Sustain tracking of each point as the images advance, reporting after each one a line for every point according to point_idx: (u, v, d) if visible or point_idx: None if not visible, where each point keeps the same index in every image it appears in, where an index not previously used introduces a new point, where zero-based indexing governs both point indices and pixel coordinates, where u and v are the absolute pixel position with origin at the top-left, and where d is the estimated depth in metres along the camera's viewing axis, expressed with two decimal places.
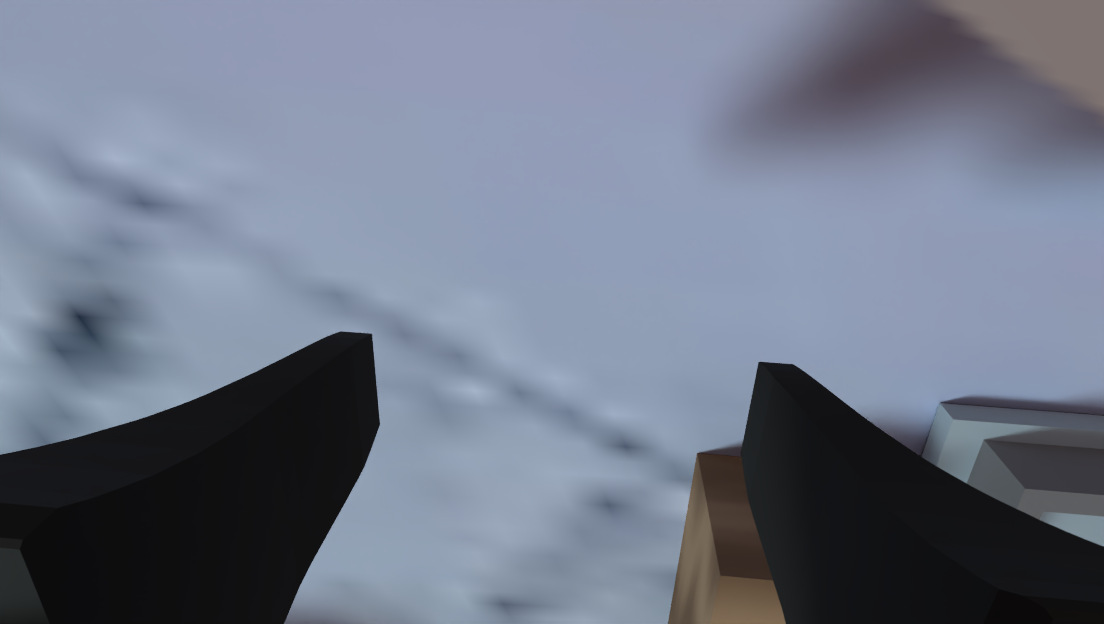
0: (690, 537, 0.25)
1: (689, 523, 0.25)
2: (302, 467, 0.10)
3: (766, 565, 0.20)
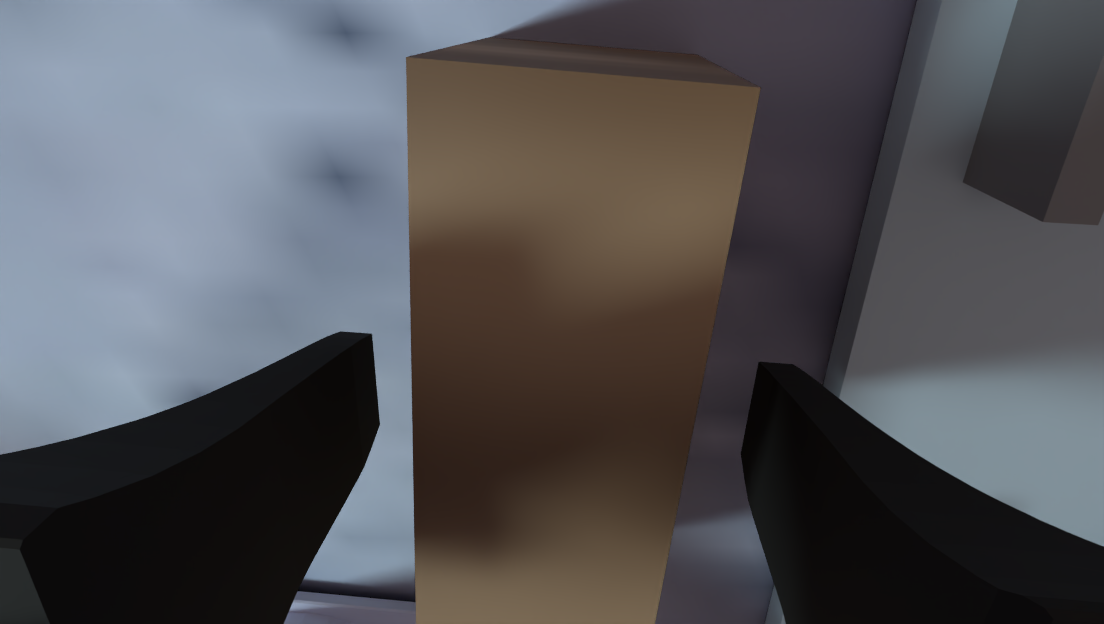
0: None
1: None
2: (302, 467, 0.10)
3: (537, 64, 0.08)
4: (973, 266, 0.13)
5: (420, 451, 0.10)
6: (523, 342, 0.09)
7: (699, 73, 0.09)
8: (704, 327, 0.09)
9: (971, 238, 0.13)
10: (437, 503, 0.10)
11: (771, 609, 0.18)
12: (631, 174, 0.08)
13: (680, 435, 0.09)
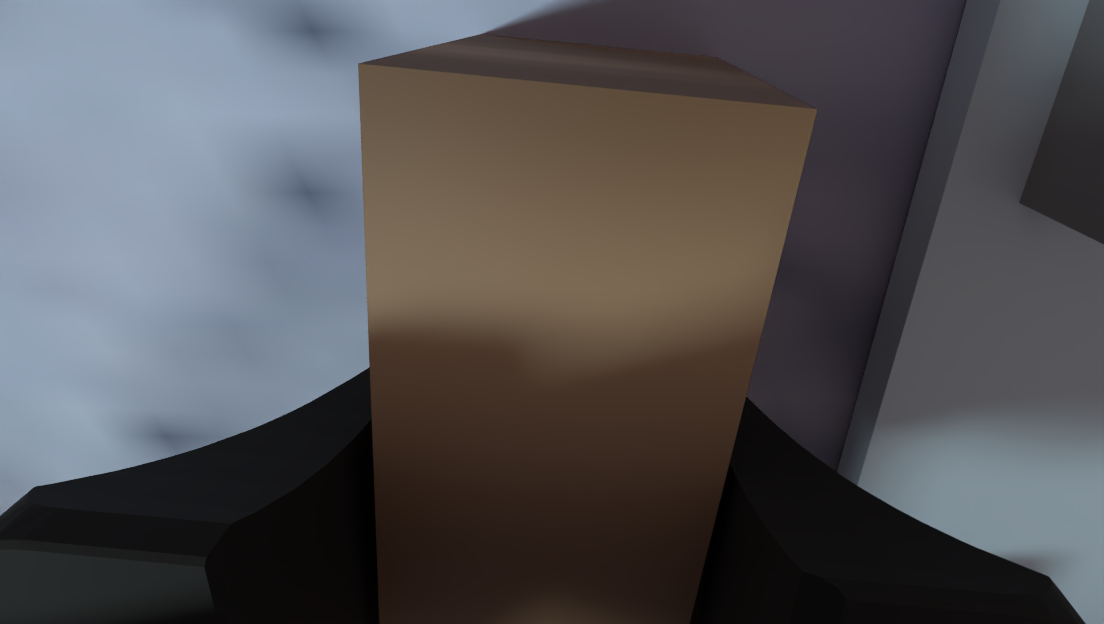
0: None
1: None
2: None
3: (527, 73, 0.06)
4: (1027, 297, 0.11)
5: (384, 536, 0.08)
6: (509, 415, 0.07)
7: (732, 86, 0.07)
8: (734, 402, 0.07)
9: (1027, 266, 0.11)
10: (406, 593, 0.09)
11: None
12: (646, 215, 0.06)
13: (699, 525, 0.08)
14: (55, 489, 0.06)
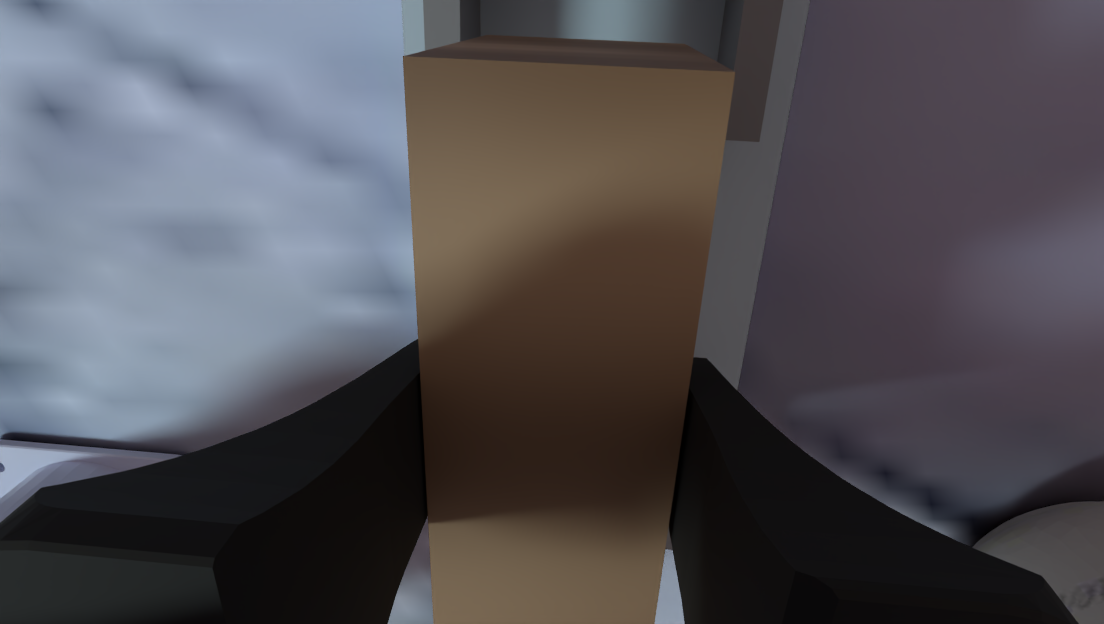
0: None
1: None
2: (401, 475, 0.10)
3: (526, 58, 0.08)
4: None
5: (430, 429, 0.10)
6: (522, 322, 0.09)
7: (681, 61, 0.09)
8: (693, 301, 0.09)
9: None
10: (448, 478, 0.11)
11: None
12: (617, 158, 0.08)
13: (675, 406, 0.10)
14: (63, 490, 0.06)
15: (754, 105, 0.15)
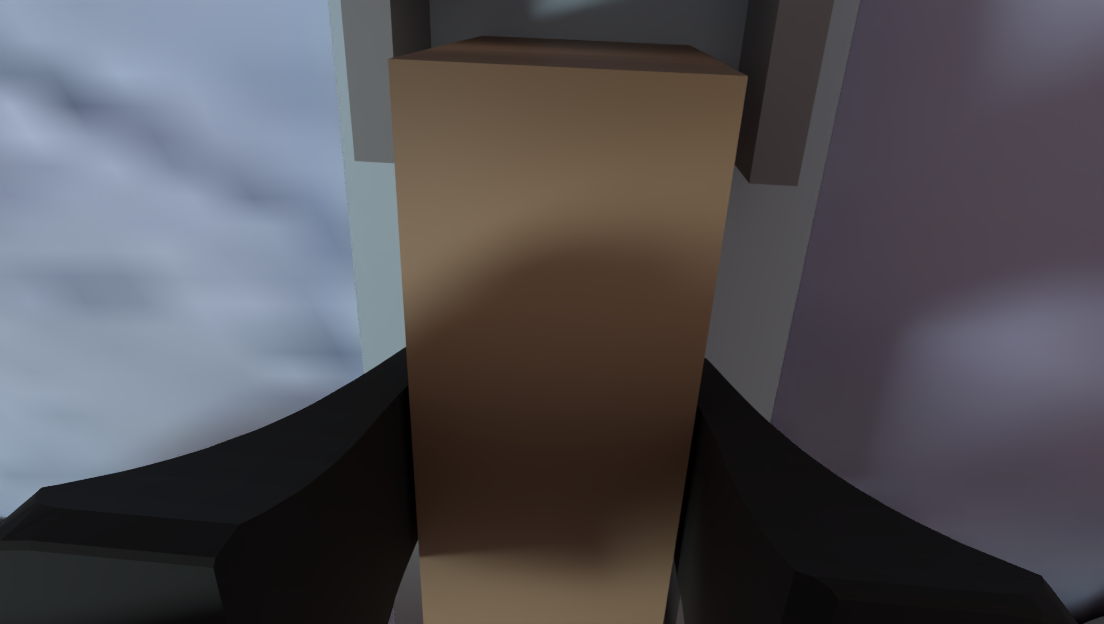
0: None
1: None
2: (401, 475, 0.10)
3: (521, 61, 0.08)
4: None
5: (420, 455, 0.10)
6: (518, 342, 0.09)
7: (687, 64, 0.08)
8: (701, 322, 0.09)
9: None
10: (439, 506, 0.10)
11: None
12: (619, 168, 0.08)
13: (681, 432, 0.09)
14: (64, 490, 0.06)
15: (791, 138, 0.11)
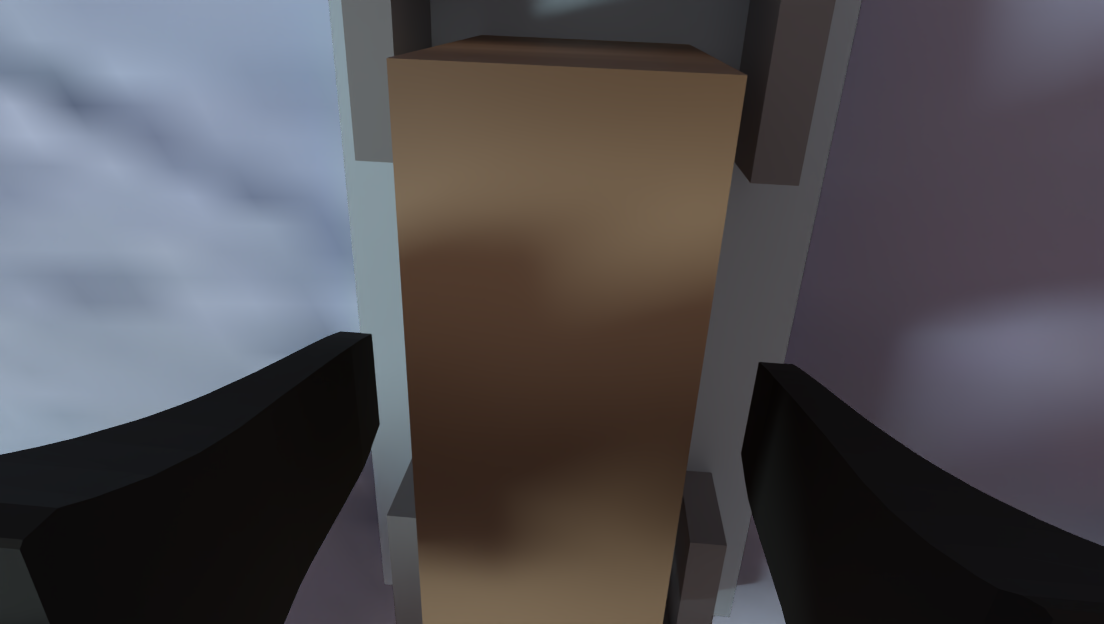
0: None
1: None
2: (302, 467, 0.10)
3: (519, 60, 0.08)
4: None
5: (419, 455, 0.10)
6: (518, 342, 0.09)
7: (687, 63, 0.08)
8: (701, 321, 0.08)
9: None
10: (439, 506, 0.10)
11: None
12: (618, 168, 0.08)
13: (680, 432, 0.09)
14: None
15: (793, 137, 0.11)
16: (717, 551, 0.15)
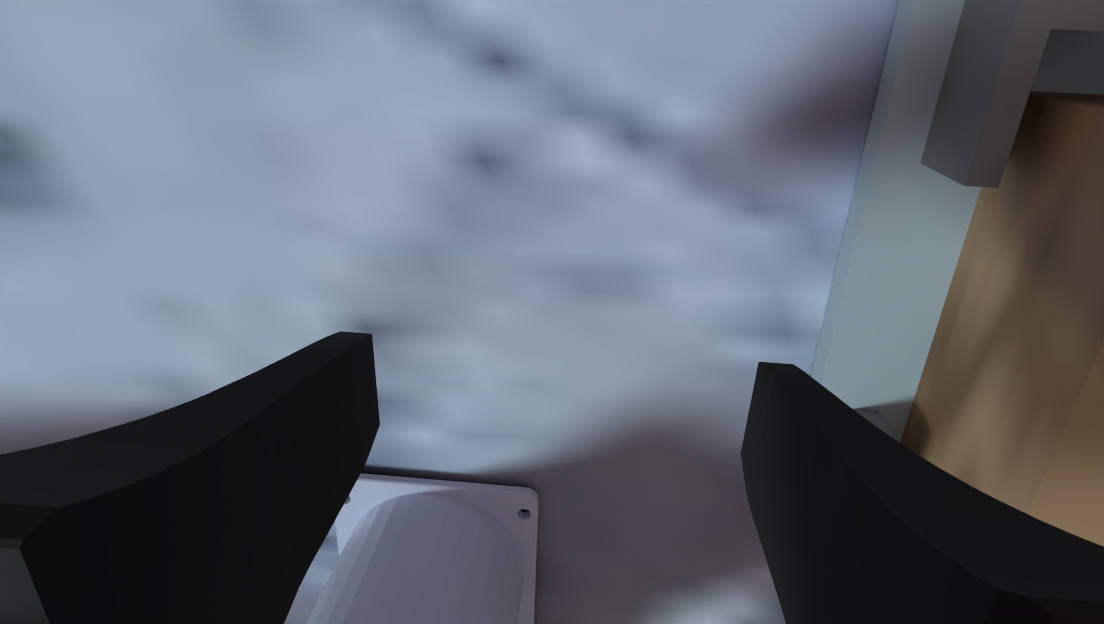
0: (1004, 215, 0.17)
1: (996, 202, 0.18)
2: (302, 467, 0.10)
3: None
4: (928, 221, 0.19)
5: (1086, 392, 0.14)
6: None
7: None
8: None
9: (927, 201, 0.19)
10: (1081, 430, 0.14)
11: None
12: None
13: None
14: None
15: None
16: None
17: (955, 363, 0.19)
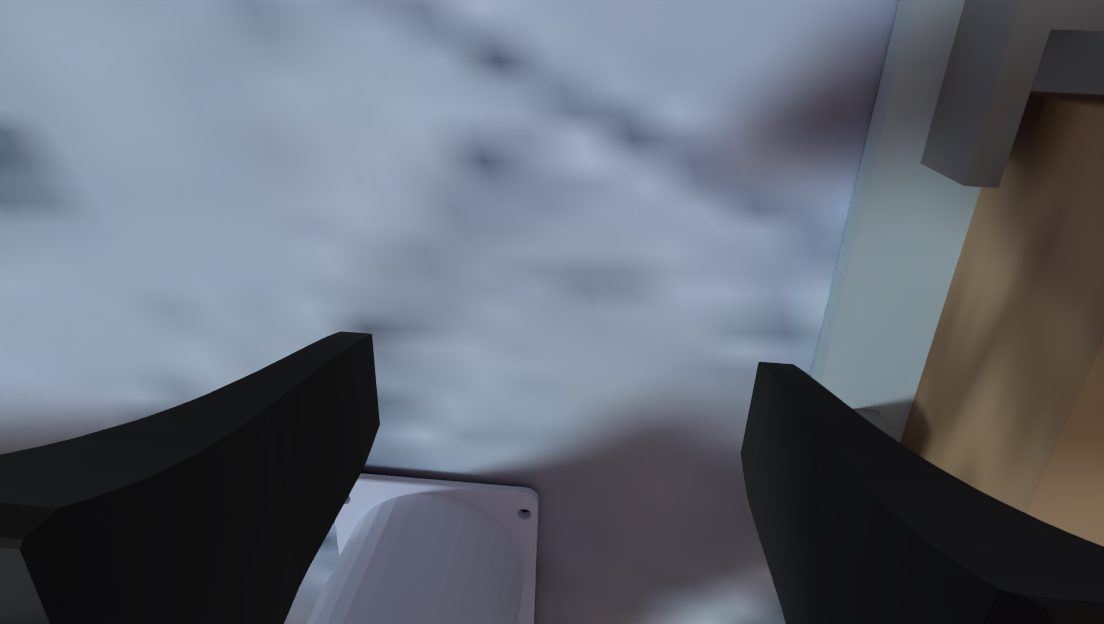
0: (1004, 215, 0.17)
1: (996, 202, 0.18)
2: (302, 467, 0.10)
3: None
4: (928, 221, 0.19)
5: (1086, 392, 0.14)
6: None
7: None
8: None
9: (927, 201, 0.19)
10: (1081, 430, 0.14)
11: None
12: None
13: None
14: None
15: None
16: None
17: (955, 363, 0.19)
